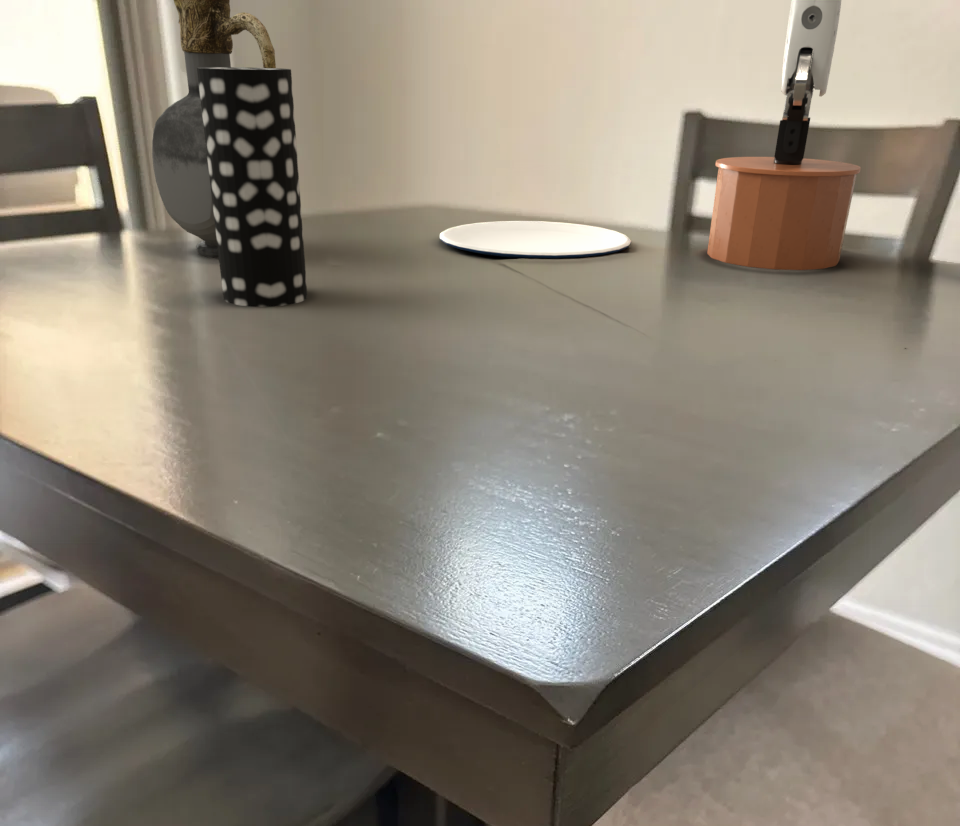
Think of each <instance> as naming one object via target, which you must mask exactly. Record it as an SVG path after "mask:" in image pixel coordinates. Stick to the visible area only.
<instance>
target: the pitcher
mask: <svg viewBox="0 0 960 826" xmlns="http://www.w3.org/2000/svg"><path fill="white" fill-rule="evenodd" d="M230 1H231V0H173V4H174V6H175V9H176V11H177V14H178V24H179V37H180V38H179V39H180V46H181V51H182V52H183V53H184V54H183V55H184V62H185V70H186V79H187V87H188V94H186V95H185V96H183V97H182V98H180V99H179V100H176V101H175V102H173V103H172V104H171V105H169V106H168V107H167V108H166V109H165V110H164V111H163V112H162V113H161V114H160V116H159V117H158V118H157V119H156V121H155V124H154V127H153V128H154V129H153V132H152V142H151V145H152V147H151V148H152V149H151V156H152V168H153V173H154V174H153V175H154V178H155V179H154V180H155V183H156V187H157V190H158V193H159V197H160V199H161V201H162V204H163V206H164V208H165V211H167V214H168V215H169V217H170V218H171V219H172V220H173V221H174V222H175V223H176V224H177V225H178V226H179V227H180V228H182V229H183V230H184V231H185V232H186V233H189V234H191V235H193V236H196V237H197V238H199V239H201V240H202V241H200V242H198V243H197V244H196V245H195V250H196V252H197V254H198V255H200V256H203V257H208V258H216V259H219V255H218V246H217V237H216V229H215V220H214V212H213V203H212V194H211V186H210V177H209V168H208V160H207V151H206V142H205V134H204V125H203V117H202V108H201V99H200V91H199V82H198V73H197V68H199V67H232V64H231V54H233V49H234V43H233V42H234V41H233V37H232V36H236V35H239V34H240V33H242V32H243V31H246V32H248V33H250V34H251V35H252V36H253V38H254V39H255V41H256V43H257V45H258V48H259V52H260V55H261V61H262V68H277V64H276V53H275V52H276V51H275V48H274V46H273V43H272V40H271V38H270V34H269V32H268V30H267V28H266V26H265V25H264V24H263V23H262V21H260V19H259V18H258V17H257V16H255V15H253V14H251V13H249V12H238V13H236V14H234V15H233V16H231V4H230V3H231V2H230Z"/></svg>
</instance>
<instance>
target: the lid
mask: <svg viewBox="0 0 960 826" xmlns="http://www.w3.org/2000/svg"><path fill="white" fill-rule="evenodd" d="M802 121H803V120H802ZM715 167H716V168H718V169H719V168H722V169H726V170H732V171H738V172H746V173H756V174H768V175H784V176H818V177H824V176H847V175H855V174H857V175H858V174H860V173H861V170H862V167H861V166H860V165H857V164H854V163H850V162H843V161H835V160H827V159H817V158H805V157H804V158H803V160H802V161H780V160H775V158H774V156H733V157H723V158H719V159H716V160H715Z"/></svg>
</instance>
